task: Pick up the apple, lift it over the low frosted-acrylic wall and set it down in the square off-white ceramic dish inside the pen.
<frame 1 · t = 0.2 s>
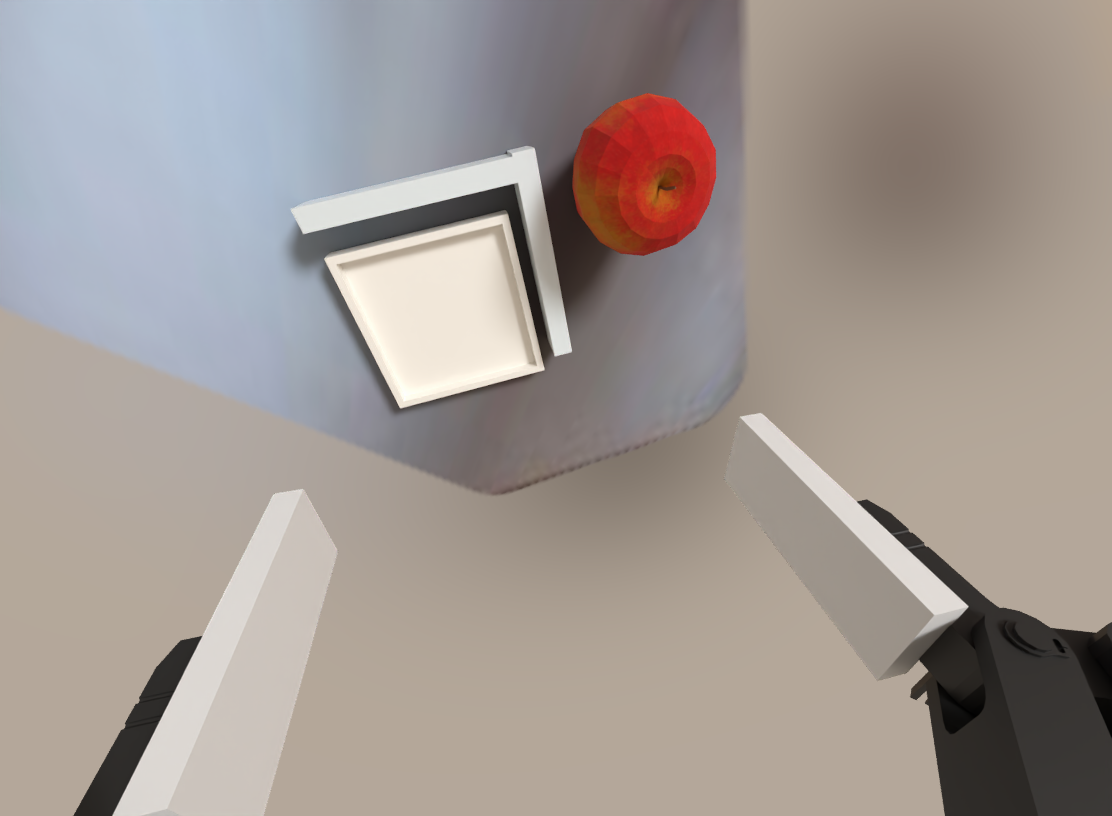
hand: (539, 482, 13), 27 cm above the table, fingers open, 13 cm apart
dish: (448, 313, 37), on the table
pen walls: (539, 255, 36), resting in dish
apple: (609, 171, 33), on the table
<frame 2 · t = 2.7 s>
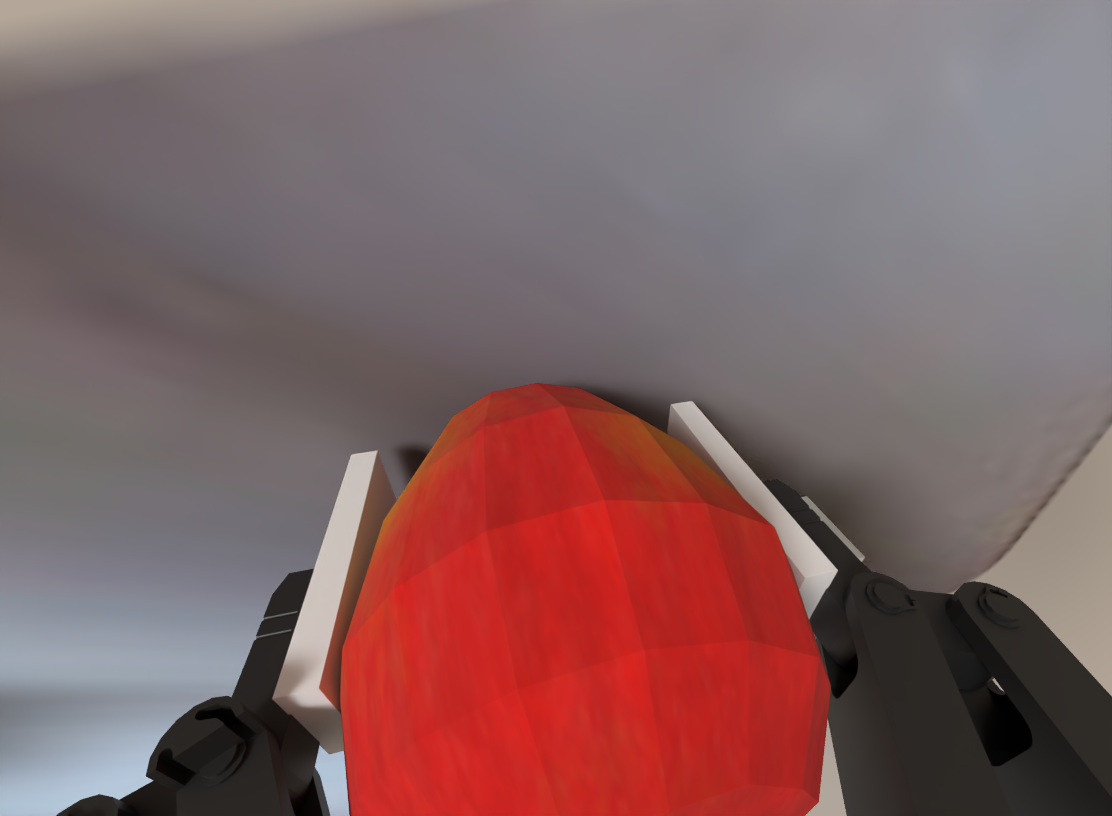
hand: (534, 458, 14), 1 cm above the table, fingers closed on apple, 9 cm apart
pen walls: (647, 538, 19), resting in dish
apple: (528, 435, 15), on the table, touching gripper
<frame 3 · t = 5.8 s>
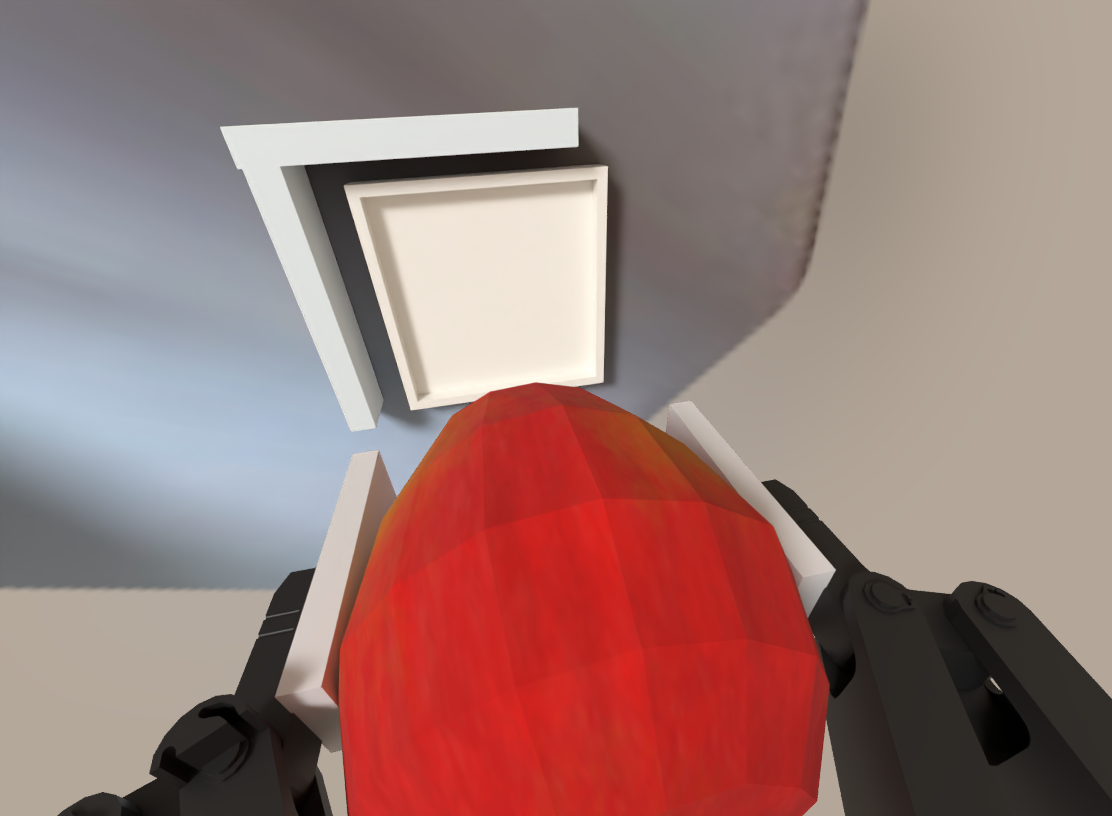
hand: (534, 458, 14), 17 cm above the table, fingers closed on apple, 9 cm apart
dish: (495, 293, 28), on the table
pen walls: (418, 136, 22), resting in dish
apple: (527, 434, 15), point 16 cm above the table, touching gripper
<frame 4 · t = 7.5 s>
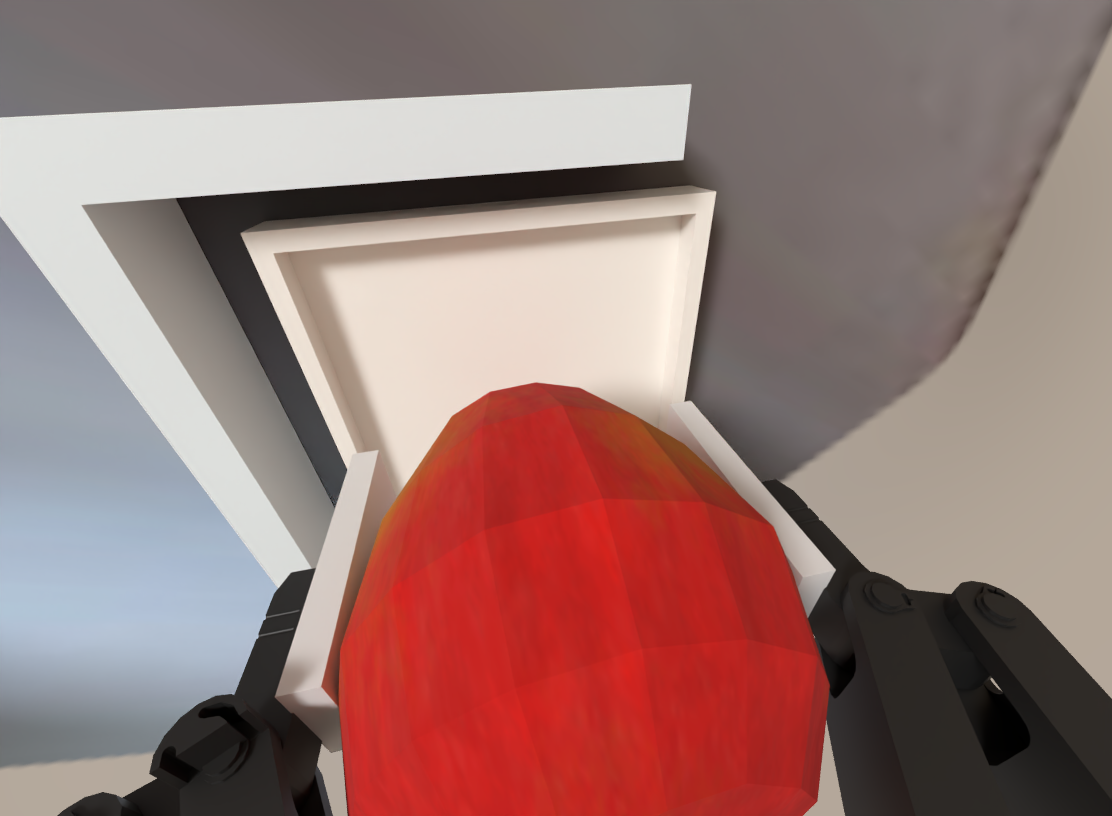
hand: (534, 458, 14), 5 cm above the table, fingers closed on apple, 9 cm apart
dish: (514, 383, 18), on the table
pen walls: (383, 140, 12), resting in dish
apple: (527, 434, 15), point 4 cm above the table, touching gripper
when the fingers open (4 cm above the table, at t = 8.7 s): apple drops 2 cm, resting on dish.
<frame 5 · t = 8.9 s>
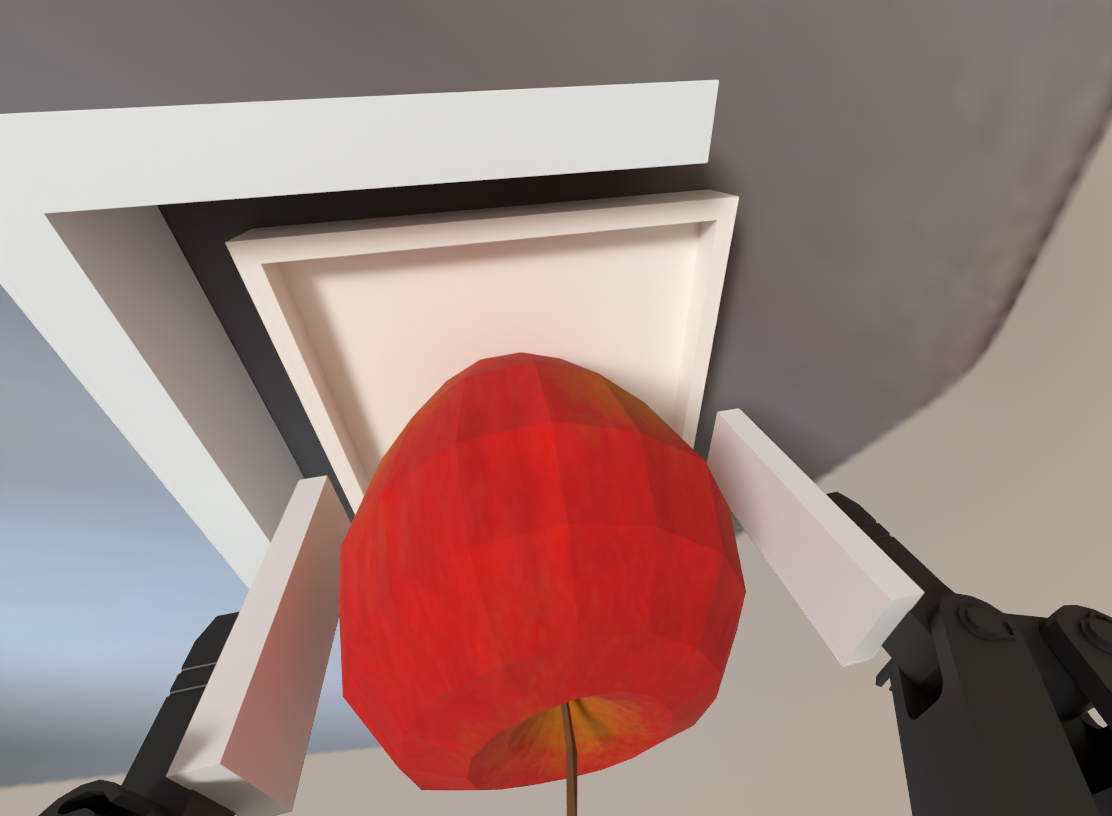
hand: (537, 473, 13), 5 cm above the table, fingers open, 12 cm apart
dish: (520, 397, 17), on the table
pen walls: (380, 141, 11), resting in dish
apple: (518, 406, 16), point 1 cm above the table, touching dish
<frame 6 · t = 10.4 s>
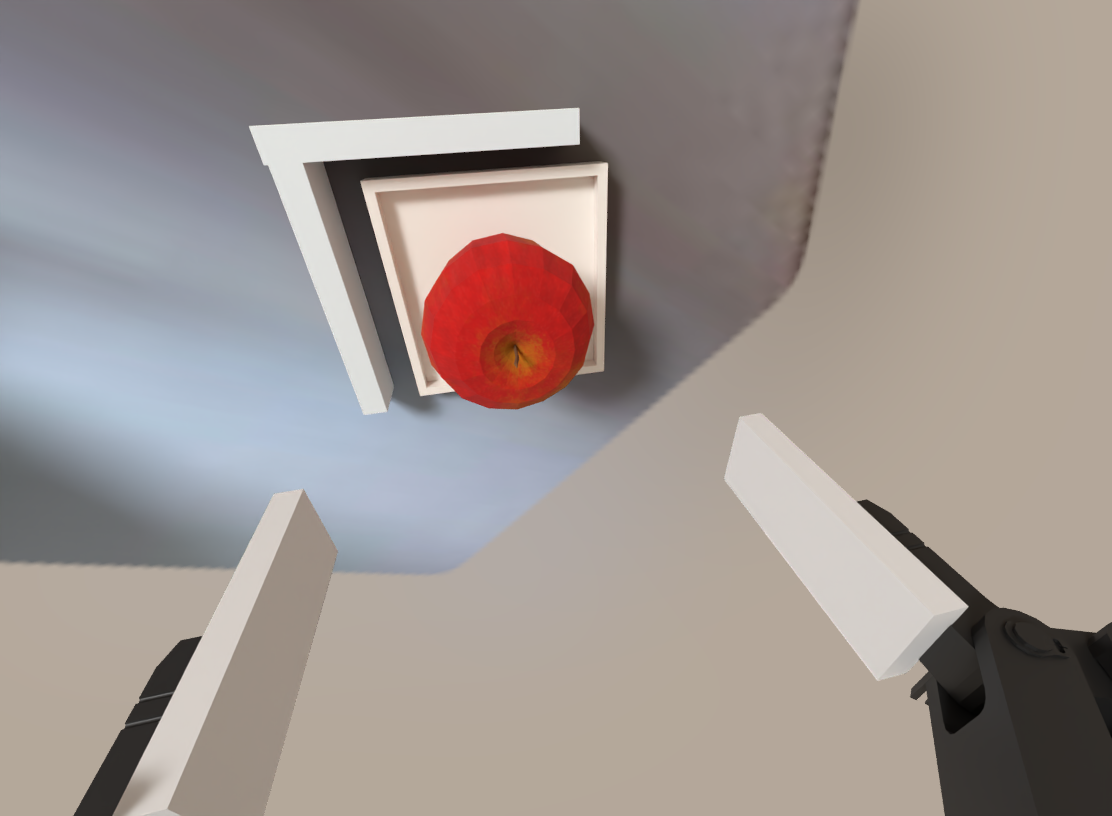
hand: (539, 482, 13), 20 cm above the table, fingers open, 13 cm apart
dish: (501, 284, 29), on the table
pen walls: (430, 135, 24), resting in dish
apple: (499, 286, 29), point 1 cm above the table, touching dish
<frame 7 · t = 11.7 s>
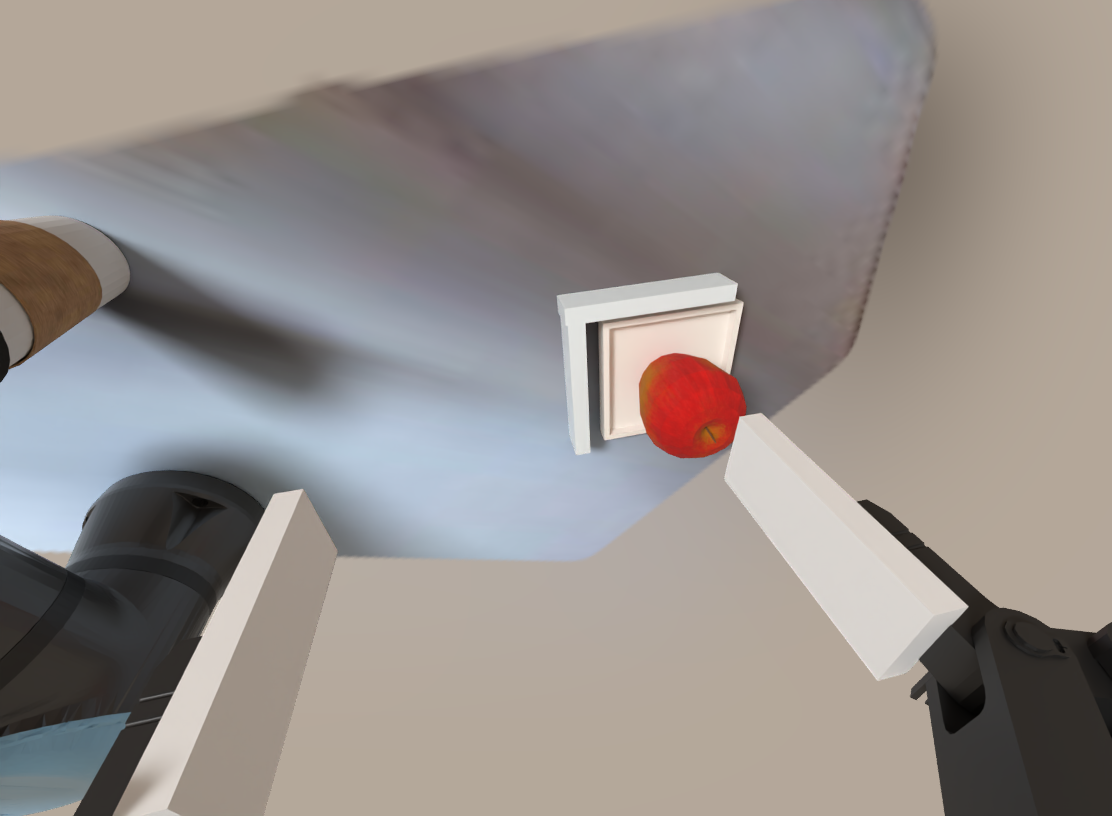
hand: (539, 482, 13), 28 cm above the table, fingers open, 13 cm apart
coffee cup: (81, 258, 30), on the table
dish: (662, 368, 45), on the table
pen walls: (639, 292, 40), resting in dish
apple: (663, 371, 45), point 1 cm above the table, touching dish
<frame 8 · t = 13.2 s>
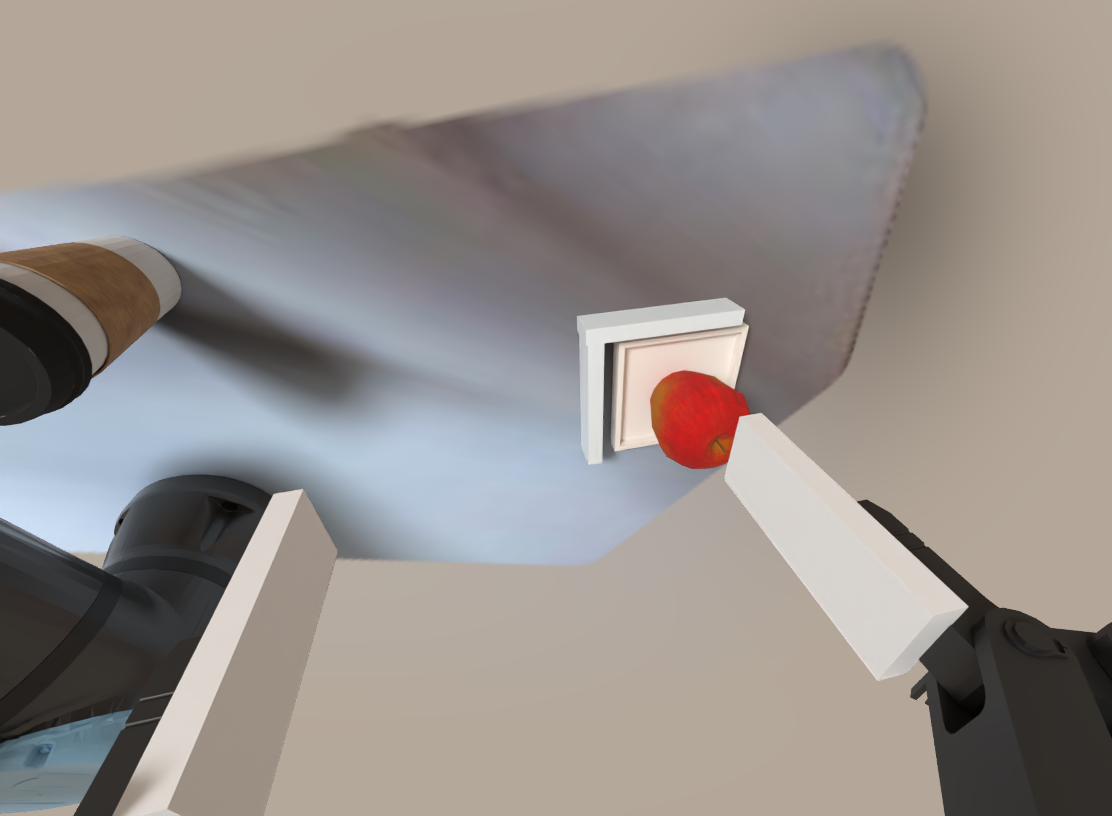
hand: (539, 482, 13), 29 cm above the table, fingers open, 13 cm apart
coffee cup: (137, 275, 32), on the table
dish: (670, 384, 48), on the table
pen walls: (652, 314, 43), resting in dish
apple: (671, 387, 48), point 1 cm above the table, touching dish
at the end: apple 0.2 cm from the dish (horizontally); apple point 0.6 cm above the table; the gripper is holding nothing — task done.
